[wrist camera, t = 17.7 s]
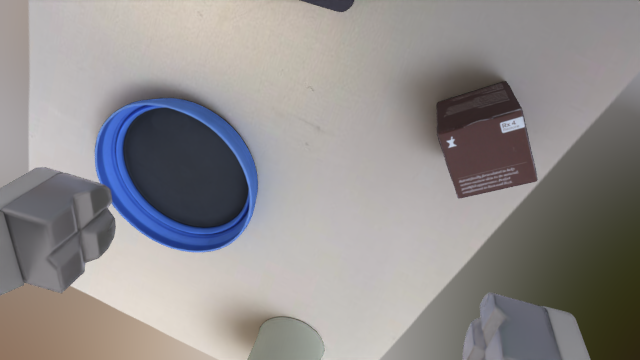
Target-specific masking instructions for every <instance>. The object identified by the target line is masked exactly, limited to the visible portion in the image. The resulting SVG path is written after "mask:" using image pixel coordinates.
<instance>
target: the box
mask: <svg viewBox="0 0 640 360" xmlns="http://www.w3.org/2000/svg"><path fill="white" fill-rule="evenodd" d="M437 136H438V139H439V142H440V145H441V148H442V151H443V154H444V157H445V161H446V164H447V167H448V170H449V173H450V176H451V179H452V181H453V184H454V187H455V190H456V194H457V197H458V198H464V197H468V196H473V195H478V194H482V193H486V192H491V191H495V190H500V189H504V188H508V187H513V186H518V185H522V184H527V183H531V182H535V181H537V174H536V168H535V164H534V160H533V156H532V151H531V147H530V142H529V138H528V133H527V129H526V124H525V119H524V115H523V111H522V108H521V106H520V104H519V102H518V101H517V99H516V97H515V96H514V94H513V92H512V90H511V88H510V86H509V85H508V83H507V82H506V81H505V82H501V83H498V84H495V85H492V86H488V87H485V88H482V89H479V90H475V91H472V92H469V93H466V94H463V95H460V96H456V97H453V98H450V99H447V100H444V101H441V102H438V103H437Z"/></svg>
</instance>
